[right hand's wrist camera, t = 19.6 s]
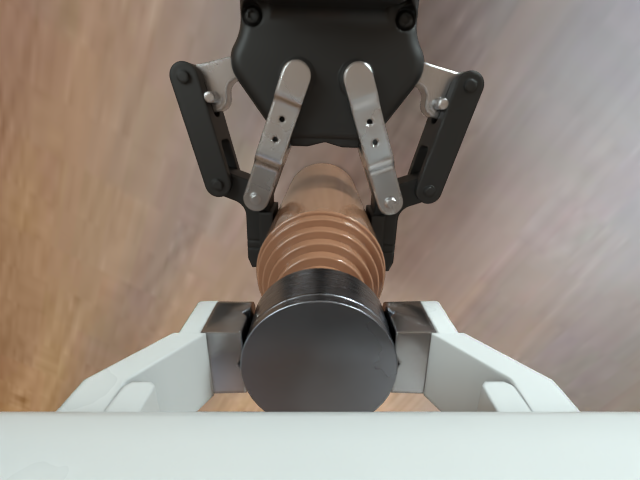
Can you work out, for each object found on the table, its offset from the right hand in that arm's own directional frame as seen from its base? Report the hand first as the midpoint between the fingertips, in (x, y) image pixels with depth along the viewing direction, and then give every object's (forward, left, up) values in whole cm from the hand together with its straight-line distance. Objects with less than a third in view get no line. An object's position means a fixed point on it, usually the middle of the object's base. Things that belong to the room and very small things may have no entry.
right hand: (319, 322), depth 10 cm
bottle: (0, 0, -16) cm, 16 cm away
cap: (0, 0, +2) cm, 2 cm away
